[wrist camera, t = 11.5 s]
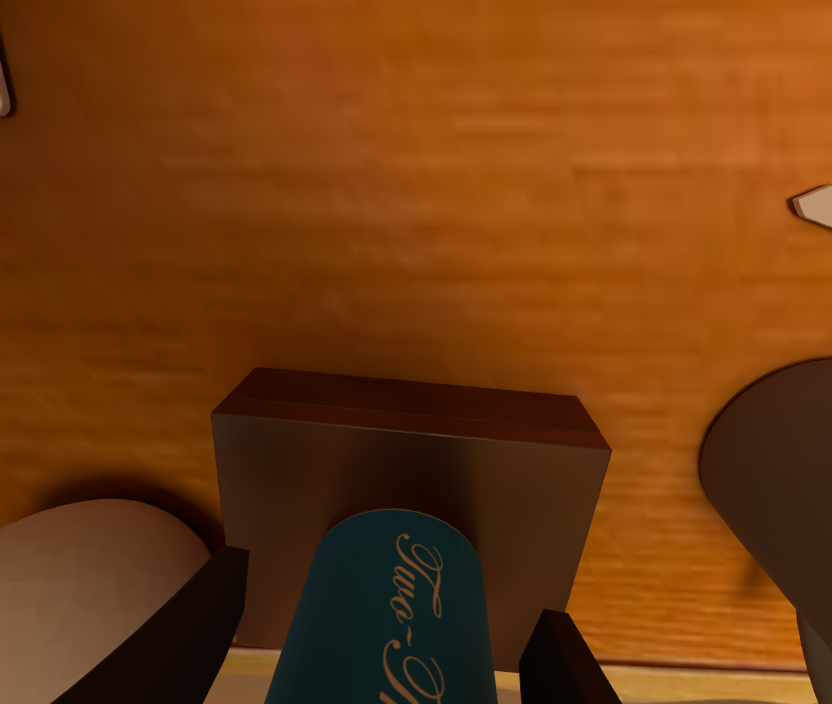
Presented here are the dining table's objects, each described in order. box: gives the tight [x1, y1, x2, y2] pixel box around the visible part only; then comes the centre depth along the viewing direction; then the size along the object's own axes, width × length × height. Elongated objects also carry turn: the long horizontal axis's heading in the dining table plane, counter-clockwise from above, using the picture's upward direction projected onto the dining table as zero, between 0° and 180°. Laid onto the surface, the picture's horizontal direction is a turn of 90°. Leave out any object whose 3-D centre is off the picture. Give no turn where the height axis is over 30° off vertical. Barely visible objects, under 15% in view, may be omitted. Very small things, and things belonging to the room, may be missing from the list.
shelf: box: [211, 368, 612, 673], centre depth 19 cm, size 14×12×4 cm
